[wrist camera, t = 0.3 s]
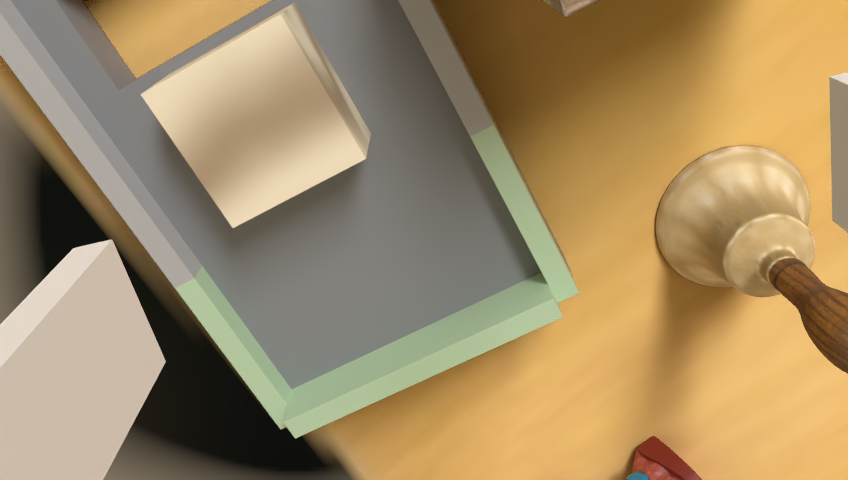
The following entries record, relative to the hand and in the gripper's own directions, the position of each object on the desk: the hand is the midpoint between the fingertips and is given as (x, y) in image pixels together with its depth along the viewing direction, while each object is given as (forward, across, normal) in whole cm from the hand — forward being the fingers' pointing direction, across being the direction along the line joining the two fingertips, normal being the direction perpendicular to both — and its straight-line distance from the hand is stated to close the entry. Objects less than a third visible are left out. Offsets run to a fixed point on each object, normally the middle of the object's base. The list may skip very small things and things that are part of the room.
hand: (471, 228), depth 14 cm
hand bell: (+26, +13, -14) cm, 33 cm away
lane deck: (+26, -9, -1) cm, 28 cm away
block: (+24, -9, -2) cm, 25 cm away
